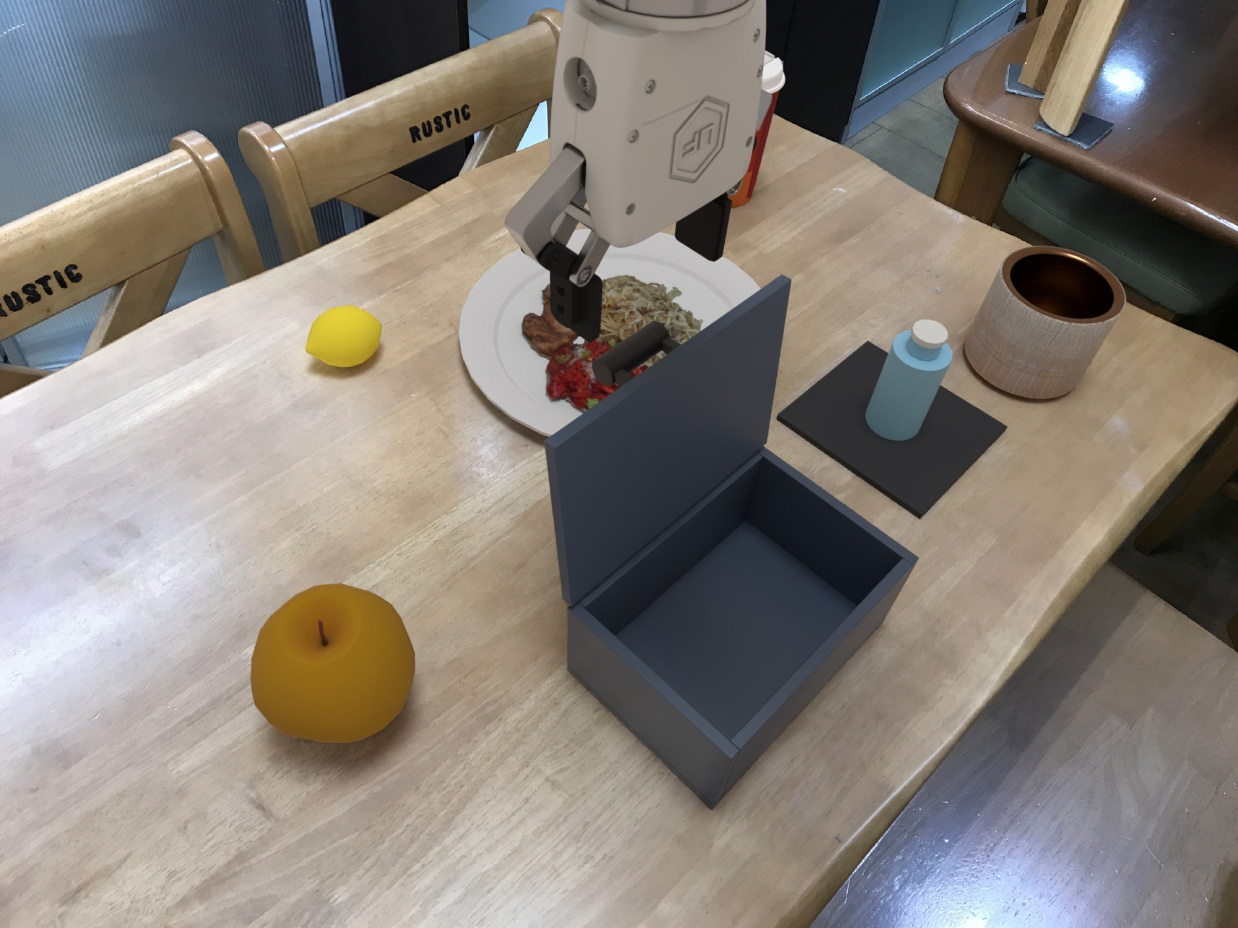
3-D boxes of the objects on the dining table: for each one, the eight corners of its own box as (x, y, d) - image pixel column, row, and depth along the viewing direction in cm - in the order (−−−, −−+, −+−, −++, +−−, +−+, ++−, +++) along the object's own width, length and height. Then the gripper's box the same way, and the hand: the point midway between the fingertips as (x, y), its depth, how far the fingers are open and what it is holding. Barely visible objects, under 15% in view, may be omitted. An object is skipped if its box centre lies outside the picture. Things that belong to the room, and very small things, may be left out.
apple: (278, 790, 56) (222, 716, 47) (278, 654, 62) (228, 565, 53) (433, 757, 58) (407, 679, 49) (419, 628, 64) (393, 537, 55)
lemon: (375, 328, 84) (365, 283, 79) (397, 364, 81) (388, 319, 76) (302, 353, 81) (288, 308, 77) (322, 391, 78) (308, 346, 74)
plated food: (742, 237, 95) (747, 210, 92) (813, 451, 76) (822, 425, 74) (459, 247, 92) (456, 220, 89) (461, 473, 73) (457, 447, 70)
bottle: (930, 421, 78) (972, 332, 70) (900, 449, 76) (940, 361, 68) (885, 392, 80) (921, 302, 72) (854, 419, 78) (888, 329, 70)
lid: (792, 279, 54) (728, 246, 56) (554, 448, 45) (490, 401, 47) (767, 443, 64) (714, 410, 67) (570, 607, 55) (518, 561, 58)
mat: (1005, 430, 79) (1007, 426, 78) (919, 519, 72) (922, 514, 72) (866, 344, 85) (867, 340, 85) (776, 418, 78) (777, 414, 78)
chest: (883, 621, 66) (919, 557, 59) (711, 810, 57) (731, 759, 50) (743, 514, 72) (761, 444, 65) (566, 669, 63) (566, 607, 56)
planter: (1054, 421, 80) (1105, 343, 72) (943, 367, 84) (980, 287, 76) (1094, 356, 85) (1144, 278, 78) (987, 308, 89) (1025, 229, 82)
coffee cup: (726, 163, 104) (746, 34, 92) (777, 196, 100) (804, 67, 88) (673, 187, 100) (687, 57, 88) (723, 223, 96) (745, 91, 85)
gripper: (575, 56, 30) (571, 402, 43) (869, -72, 38) (789, 252, 51) (435, -21, 33) (472, 324, 46) (735, -124, 41) (692, 194, 54)
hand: (639, 286), depth 49 cm, fingers open, 9 cm apart
